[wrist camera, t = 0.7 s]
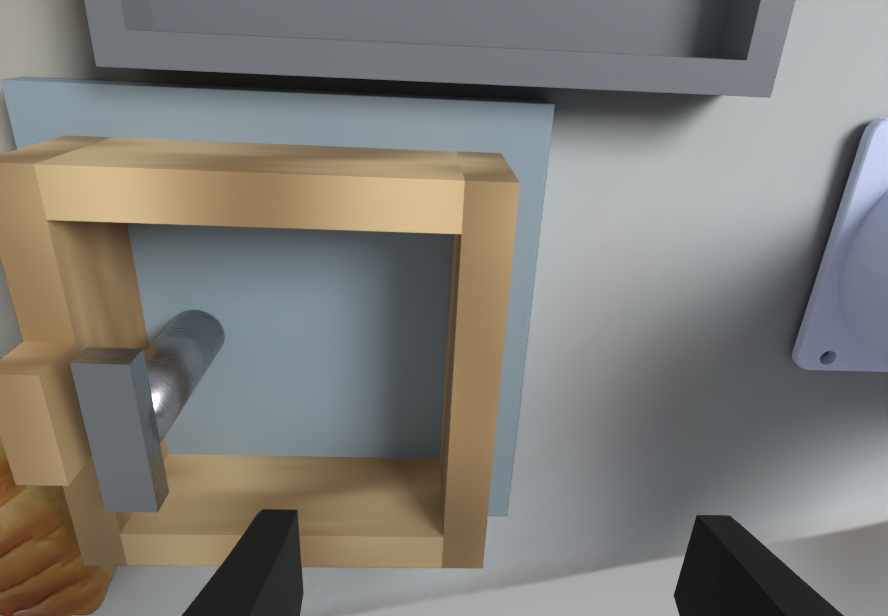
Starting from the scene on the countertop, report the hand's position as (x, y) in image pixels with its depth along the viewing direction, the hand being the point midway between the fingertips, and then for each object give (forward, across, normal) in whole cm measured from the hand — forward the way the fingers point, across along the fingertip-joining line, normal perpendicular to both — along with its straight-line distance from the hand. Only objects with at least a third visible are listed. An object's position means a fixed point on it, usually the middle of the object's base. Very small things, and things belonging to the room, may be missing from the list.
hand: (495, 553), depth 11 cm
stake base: (+9, +5, 0) cm, 11 cm away
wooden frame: (+8, +5, 0) cm, 10 cm away
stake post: (+9, +8, 0) cm, 12 cm away
